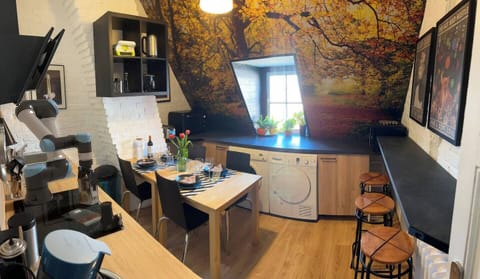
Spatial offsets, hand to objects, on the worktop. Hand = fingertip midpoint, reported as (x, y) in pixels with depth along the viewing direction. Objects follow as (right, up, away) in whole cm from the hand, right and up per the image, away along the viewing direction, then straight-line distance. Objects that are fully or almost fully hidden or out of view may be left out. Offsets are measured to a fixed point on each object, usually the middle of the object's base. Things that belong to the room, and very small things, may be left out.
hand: (88, 194), depth 182 cm
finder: (+3, -9, -18) cm, 20 cm away
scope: (+26, -12, -30) cm, 41 cm away
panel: (+6, -10, -17) cm, 20 cm away
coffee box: (0, -5, +1) cm, 6 cm away
